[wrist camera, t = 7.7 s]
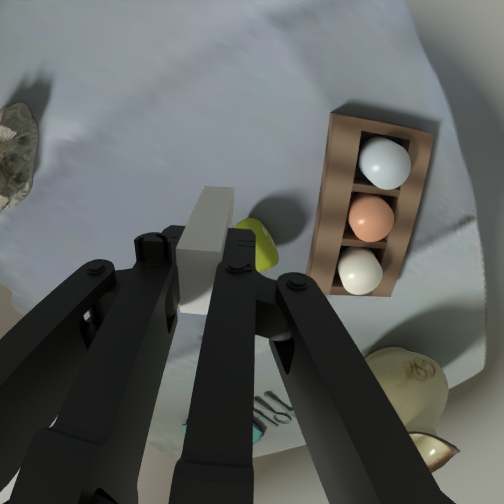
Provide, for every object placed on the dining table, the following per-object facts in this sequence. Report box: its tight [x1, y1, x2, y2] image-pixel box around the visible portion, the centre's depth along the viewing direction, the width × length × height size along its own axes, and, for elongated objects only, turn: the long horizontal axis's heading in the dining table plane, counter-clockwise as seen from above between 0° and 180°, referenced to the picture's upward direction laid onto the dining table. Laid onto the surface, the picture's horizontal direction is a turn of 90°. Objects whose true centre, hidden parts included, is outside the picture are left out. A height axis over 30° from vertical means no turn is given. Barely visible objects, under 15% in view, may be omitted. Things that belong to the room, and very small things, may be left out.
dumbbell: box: [178, 218, 279, 308], centre depth 45 cm, size 16×8×7 cm, turn 122°
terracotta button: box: [346, 192, 394, 242], centre depth 42 cm, size 6×6×4 cm
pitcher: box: [364, 347, 460, 473], centre depth 51 cm, size 22×24×25 cm
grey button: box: [357, 137, 411, 190], centre depth 37 cm, size 6×6×4 cm
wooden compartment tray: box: [306, 112, 434, 297], centre depth 43 cm, size 26×14×3 cm, turn 176°
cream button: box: [337, 246, 383, 295], centre depth 45 cm, size 6×6×4 cm
